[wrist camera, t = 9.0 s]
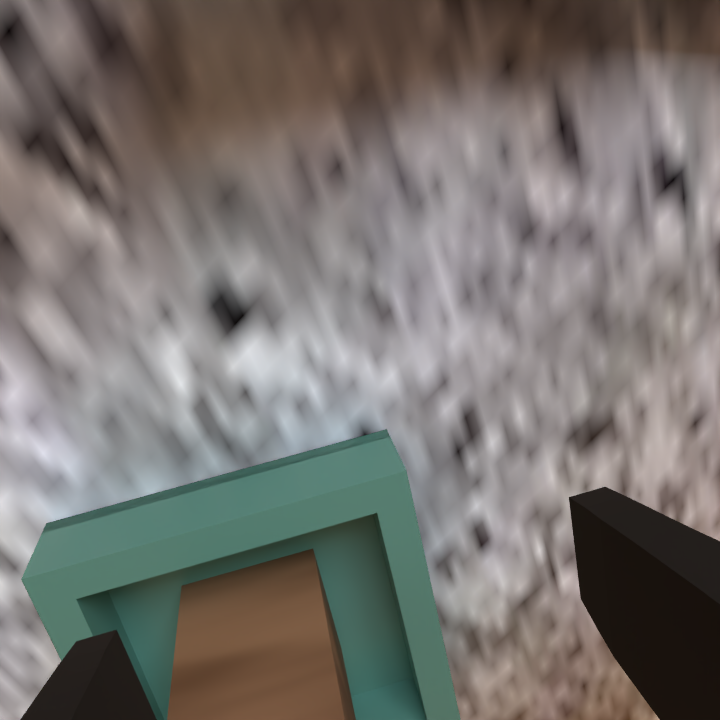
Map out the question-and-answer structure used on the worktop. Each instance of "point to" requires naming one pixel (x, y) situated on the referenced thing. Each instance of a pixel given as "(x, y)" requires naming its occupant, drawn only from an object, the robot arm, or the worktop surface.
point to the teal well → (254, 546)
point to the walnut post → (259, 647)
